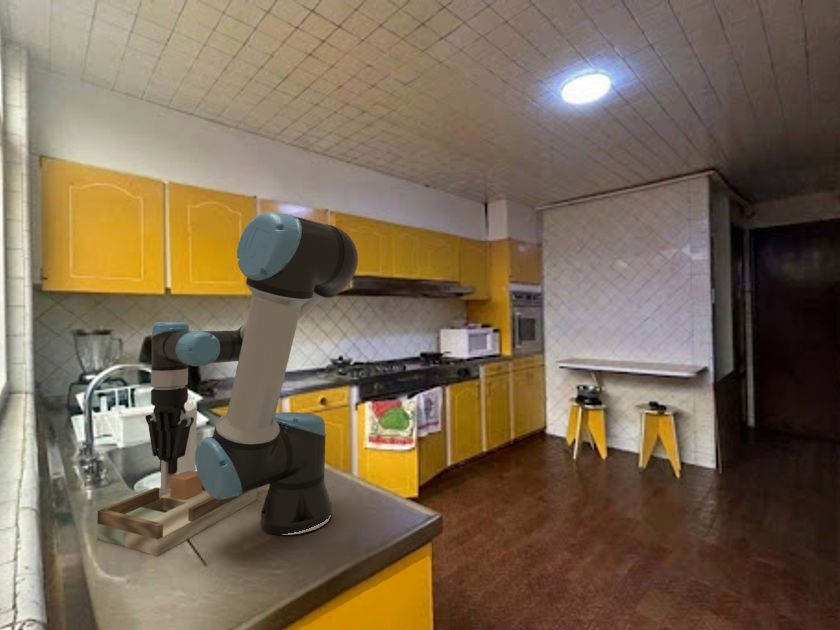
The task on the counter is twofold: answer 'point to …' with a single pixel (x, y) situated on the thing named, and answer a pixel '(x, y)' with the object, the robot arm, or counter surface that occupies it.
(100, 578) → the counter surface
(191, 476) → the block
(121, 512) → the box
